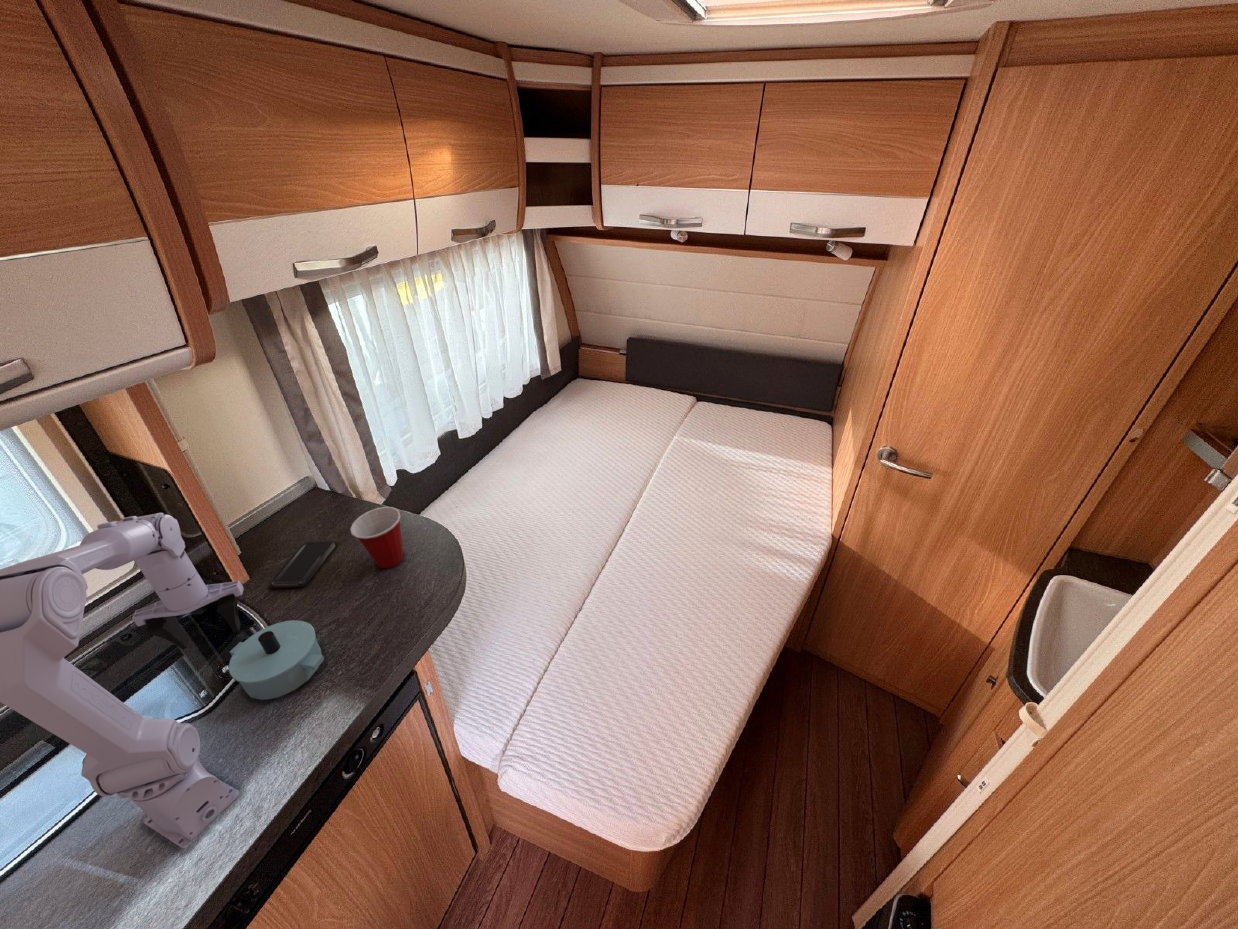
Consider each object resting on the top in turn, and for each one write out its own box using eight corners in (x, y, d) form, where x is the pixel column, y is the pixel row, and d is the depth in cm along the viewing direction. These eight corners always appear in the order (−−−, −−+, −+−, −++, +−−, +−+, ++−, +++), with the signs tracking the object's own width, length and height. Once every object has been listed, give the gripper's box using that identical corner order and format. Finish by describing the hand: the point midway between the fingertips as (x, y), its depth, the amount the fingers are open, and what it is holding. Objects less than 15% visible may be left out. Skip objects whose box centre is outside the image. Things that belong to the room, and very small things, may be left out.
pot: (302, 709, 88) (290, 689, 86) (216, 692, 92) (202, 673, 89) (349, 650, 99) (340, 630, 96) (270, 637, 102) (260, 618, 100)
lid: (278, 692, 86) (268, 674, 84) (212, 679, 89) (200, 662, 86) (332, 629, 97) (325, 612, 95) (272, 620, 100) (263, 603, 98)
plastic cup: (358, 560, 122) (342, 520, 116) (402, 540, 128) (389, 500, 122) (374, 583, 115) (358, 542, 109) (420, 560, 121) (408, 520, 115)
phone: (268, 584, 114) (304, 541, 127) (270, 588, 115) (306, 545, 127) (303, 583, 114) (335, 540, 127) (305, 587, 114) (337, 544, 127)
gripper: (230, 550, 88) (261, 606, 95) (126, 578, 83) (167, 636, 90) (224, 575, 83) (258, 632, 90) (112, 607, 78) (157, 666, 85)
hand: (212, 636), depth 90 cm, fingers open, 7 cm apart
